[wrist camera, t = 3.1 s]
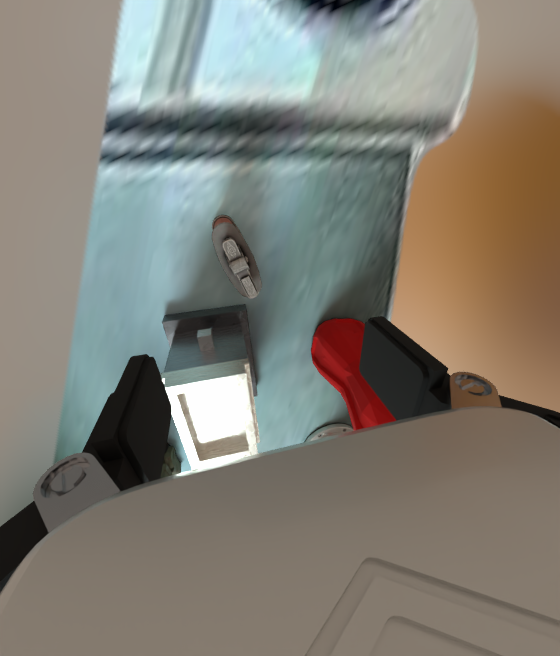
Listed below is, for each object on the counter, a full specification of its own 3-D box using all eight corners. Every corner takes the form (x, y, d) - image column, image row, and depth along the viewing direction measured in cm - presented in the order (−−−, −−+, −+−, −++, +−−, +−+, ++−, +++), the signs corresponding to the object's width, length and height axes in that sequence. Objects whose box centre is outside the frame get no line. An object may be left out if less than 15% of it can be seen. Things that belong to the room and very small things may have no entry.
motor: (245, 304, 37) (259, 358, 25) (255, 387, 45) (270, 458, 33) (164, 315, 35) (140, 379, 24) (190, 400, 43) (182, 479, 32)
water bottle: (369, 305, 42) (530, 431, 21) (353, 360, 47) (470, 507, 26) (315, 305, 40) (434, 447, 18) (306, 363, 45) (389, 526, 24)
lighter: (205, 221, 31) (202, 236, 22) (231, 210, 31) (238, 220, 22) (235, 280, 35) (242, 311, 26) (258, 270, 35) (272, 298, 26)
